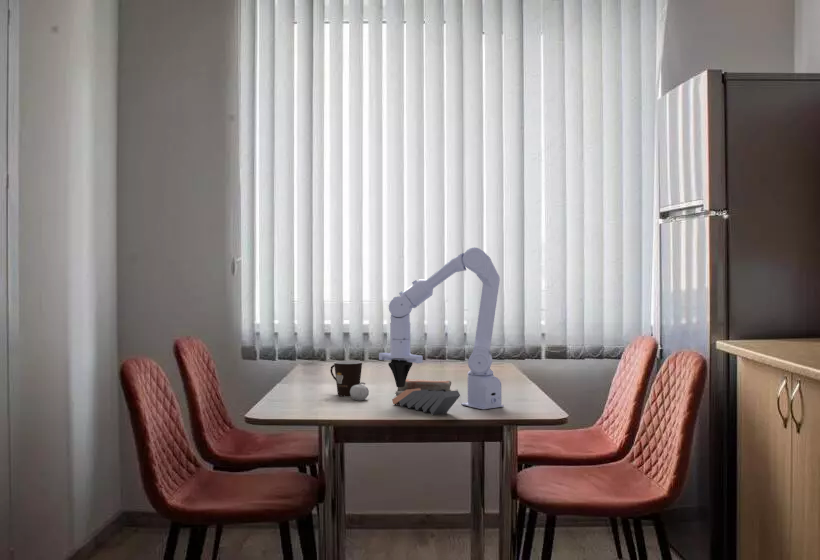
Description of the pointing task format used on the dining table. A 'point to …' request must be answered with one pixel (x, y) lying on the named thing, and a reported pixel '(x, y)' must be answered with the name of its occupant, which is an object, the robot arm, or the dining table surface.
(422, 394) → the domino
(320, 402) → the dining table surface
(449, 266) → the robot arm
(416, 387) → the packaged product
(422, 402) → the domino
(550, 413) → the dining table surface
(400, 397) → the domino
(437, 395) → the domino
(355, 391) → the garlic
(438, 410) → the domino
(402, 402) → the domino
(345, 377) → the coffee mug
